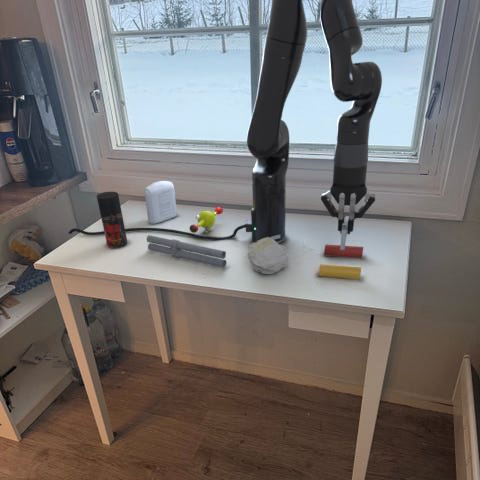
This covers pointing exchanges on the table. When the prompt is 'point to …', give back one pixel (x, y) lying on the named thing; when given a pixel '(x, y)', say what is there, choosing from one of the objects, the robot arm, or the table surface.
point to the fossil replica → (267, 256)
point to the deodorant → (112, 219)
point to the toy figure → (206, 220)
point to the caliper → (344, 233)
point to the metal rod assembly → (179, 248)
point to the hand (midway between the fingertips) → (345, 232)
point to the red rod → (343, 251)
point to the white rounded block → (160, 201)
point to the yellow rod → (339, 271)
